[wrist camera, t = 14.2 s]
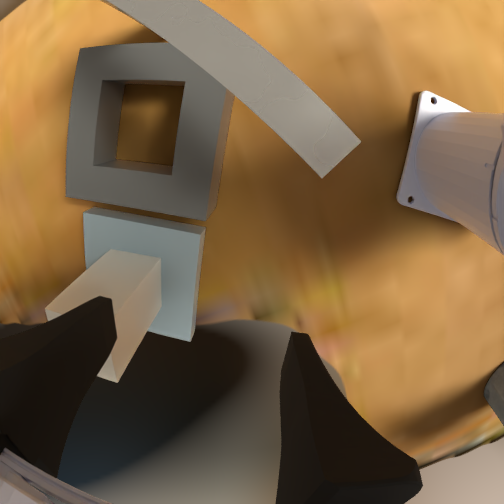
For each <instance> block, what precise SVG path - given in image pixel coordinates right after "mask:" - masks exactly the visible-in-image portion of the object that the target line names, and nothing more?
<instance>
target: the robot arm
mask: <svg viewBox="0 0 504 504" xmlns="http://www.w3.org/2000/svg"><path fill="white" fill-rule="evenodd" d="M431 97H432V98H433V99H434V104H432V103H431ZM410 196H412V201H411V202H408V198H409V197H410ZM396 198H397V201H398V202H399V203H400V204H402V205H404V206H407V207H411V208H414V209H417V210H421V211H424V212H427V213H430V214H434V215H437V216H440V217H443V218H446V219H449V220H452V221H455V222H458V223H460V224H461V225H463V226H464V227H466V228H467V229H469V230H470V231H472V232H473V233H474V234H476V235H477V236H479V237H480V238H481V239H483V240H484V241H485V242H487V243H488V244H490V245H491V246H492V247H494V248H495V249H496V250H498V251H499V252H500V253H501V254H503V255H504V114H500V113H480V112H470V111H469V110H467V109H465V108H463V107H461V106H459V105H457V104H455V103H453V102H451V101H449V100H446V99H444V98H442V97H440V96H438V95H436V94H433V93H431V92H429V91H422V92H421V93H420V94H419V98H418V104H417V110H416V115H415V120H414V125H413V130H412V135H411V139H410V144H409V148H408V153H407V157H406V161H405V165H404V169H403V173H402V177H401V181H400V184H399V188H398V192H397V196H396ZM116 340H117V331H116V325H115V318H114V311H113V304H112V299H111V298H107V297H103V296H98V297H95V298H93V299H91V300H89V301H87V302H85V303H83V304H81V305H79V306H78V307H76V308H74V309H72V310H70V311H68V312H66V313H64V314H62V315H60V316H58V317H56V318H54V319H52V320H50V321H48V322H46V323H44V324H42V325H40V326H37V327H35V328H32V329H30V330H27V331H25V332H22V333H19V334H16V335H13V336H9V337H6V338H2V339H0V504H54V503H53V502H52V501H51V500H49V499H48V497H46V495H44V494H43V493H41V492H40V491H38V490H37V489H35V488H34V487H33V486H35V487H36V488H38V489H40V490H41V491H43V492H45V493H47V494H49V495H50V496H52V497H54V498H56V499H58V500H60V501H61V502H63V503H65V504H111V503H109V502H106V501H104V500H101V499H99V498H96V497H94V496H92V495H90V494H87V493H85V492H83V491H80V490H78V489H76V488H74V487H72V486H70V485H68V484H66V483H64V482H62V481H60V480H58V479H56V478H57V475H58V470H59V465H60V461H61V456H62V452H63V449H64V446H65V443H66V439H67V436H68V433H69V430H70V428H71V425H72V423H73V420H74V417H75V415H76V413H77V411H78V408H79V405H80V403H81V402H82V400H83V398H84V396H85V394H86V392H87V391H88V389H89V388H90V386H91V384H92V383H93V381H94V380H95V378H96V376H97V375H98V373H99V372H100V370H101V368H102V367H103V365H104V364H105V362H106V360H107V359H108V357H109V355H110V353H111V351H112V349H113V347H114V344H115V342H116ZM280 414H281V439H282V441H281V442H282V443H281V445H282V447H281V460H280V470H279V480H278V489H277V497H276V504H404V503H405V502H407V501H408V500H410V499H411V498H412V497H414V496H415V495H416V494H417V493H418V492H419V491H420V490H421V488H422V486H423V484H422V480H421V475H420V471H419V468H418V465H417V462H416V460H415V459H413V458H412V457H410V456H409V455H407V454H406V453H404V452H403V451H401V450H400V449H398V448H397V447H395V446H394V445H392V444H391V443H390V442H389V441H387V440H386V439H385V438H384V437H382V436H381V435H380V434H379V433H378V432H377V431H376V430H375V429H373V428H372V427H371V426H370V425H369V424H368V423H367V422H366V421H365V420H364V419H363V418H362V417H361V416H360V415H359V414H358V412H357V411H356V410H355V409H354V408H353V407H352V405H351V404H350V403H349V402H348V401H347V399H346V398H345V397H344V395H343V394H342V392H340V390H339V388H338V387H337V386H336V384H335V382H334V381H333V379H332V378H331V376H330V374H329V373H328V371H327V369H326V368H325V366H324V364H323V363H322V361H321V359H320V357H319V355H318V353H317V351H316V349H315V347H314V345H313V343H312V341H311V339H310V337H309V335H308V334H305V333H297V332H291V336H290V340H289V343H288V348H287V351H286V355H285V358H284V362H283V366H282V370H281V381H280ZM29 483H30V484H32V485H33V486H31V485H30V484H29Z"/></svg>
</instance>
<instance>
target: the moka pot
mask: <svg viewBox="0 0 504 504" xmlns="http://www.w3.org/2000/svg"><path fill="white" fill-rule="evenodd" d="M484 397H485V399H486V400H487V402H488V403H489V405H490V406H491V408H492V409H493V411H494V412H495V414H496V415H497V416H498V418H499V419H500V421H501V422H502V424H503V426H504V363H503V364H502V365H501V366H500V367H499V368H498V369H497V370H496V371H495V372H494V374H493V375H492V376H491V378H490V379H489V381H488V383H487V385H486V387H485V390H484Z"/></svg>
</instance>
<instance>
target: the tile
mask: <svg viewBox="0 0 504 504" xmlns="http://www.w3.org/2000/svg"><path fill="white" fill-rule="evenodd" d="M83 223H84V247H85V262H86V270H87V269H88V268H89V267H90V266H91V265H93V264H94V263H95V262H96V261H97V260H98V259H100V258H101V257H102V256H103V255H104V254H105V253H107V252H108V251H109V250H110V249H114V250H119V251H125V252H130V253H136V254H141V255H147V256H152V257H158V258H161V301H162V307H161V308H160V310H159V312H158V313H157V315H156V317H155V318H154V320H153V322H152V323H151V325H150V327H149V329H148V330H147V331H150V332H154V333H158V334H161V335H165V336H169V337H173V338H177V339H181V340H185V341H191V339H192V336H193V334H194V331H195V323H196V312H197V302H198V292H199V282H200V273H201V264H202V255H203V247H204V239H205V231H206V227H202V226H197V225H192V224H187V223H181V222H176V221H171V220H165V219H160V218H154V217H149V216H143V215H138V214H132V213H127V212H121V211H116V210H110V209H104V208H99V207H92V208H90V209H89V210H87V211H85V212H83Z"/></svg>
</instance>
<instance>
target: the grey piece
mask: <svg viewBox="0 0 504 504" xmlns="http://www.w3.org/2000/svg"><path fill="white" fill-rule="evenodd" d="M100 1H102V2H104V3H106V4H108V5H110V6H111V7H113V8H115V9H117V10H118V11H120V12H122V13H124V14H125V15H127V16H129V17H130V18H132V19H134V20H135V21H137V22H139V23H140V24H142V25H144V26H145V27H147V28H148V29H150V30H152V31H153V32H155V33H156V34H158V35H159V36H161V37H162V38H163V39H165V40H166V41H168V42H169V43H170V44H172V45H173V46H174V47H176V48H177V49H178V50H180V51H181V52H182V53H184V54H185V55H186V56H187V57H189V58H190V59H191V60H193V61H194V62H195V63H196V64H198V65H199V66H200V67H201V68H203V69H204V70H205V71H206V72H208V73H209V74H210V75H211V76H213V77H214V78H215V79H216V80H217V81H219V82H220V83H221V84H222V85H223V86H225V87H226V88H227V89H228V90H229V91H230V92H232V93H233V94H234V95H235V96H236V97H237V98H238V99H240V100H241V101H242V102H243V103H244V104H245V105H246V106H248V107H249V108H250V109H251V110H252V111H253V112H254V113H255V114H256V115H258V116H259V117H260V118H261V119H262V120H263V121H264V122H265V123H266V124H267V125H268V126H269V127H271V128H272V129H273V130H274V131H275V132H276V133H277V134H278V135H279V136H280V137H281V138H282V139H283V140H284V141H285V142H286V143H287V144H288V145H289V146H290V147H291V148H292V149H293V150H294V151H295V152H296V153H297V154H298V155H299V156H300V157H301V158H302V159H303V160H304V161H305V162H306V163H307V164H308V165H309V166H310V167H311V168H312V169H313V170H314V171H315V172H316V173H317V174H318V175H319V176H320V177H321V178H323V177H324V176H325V175H326V174H327V173H328V172H330V171H331V170H332V169H333V168H334V167H335V166H336V165H337V164H338V163H339V162H340V161H341V160H342V159H343V158H345V157H346V156H347V155H348V154H349V153H350V152H351V151H352V150H353V149H354V148H355V147H356V146H357V145H358V144H360V143H361V141H360V140H359V139H358V138H357V136H356V135H355V134H354V133H353V132H352V131H351V130H350V129H349V128H348V127H347V125H346V124H345V123H344V122H343V121H342V120H341V119H340V118H339V117H338V116H337V115H336V114H335V113H334V112H333V111H332V110H331V109H330V108H329V107H328V106H327V105H326V104H325V103H324V102H323V101H322V100H321V99H320V98H319V97H318V96H317V95H316V94H315V93H314V92H313V91H312V90H311V89H310V88H309V87H308V86H307V85H306V84H305V83H304V82H302V81H301V80H300V79H299V78H298V77H297V76H296V75H295V74H294V73H293V72H291V71H290V70H289V69H288V68H287V67H286V66H285V65H284V64H282V63H281V62H280V61H279V60H278V59H277V58H275V57H274V56H273V55H272V54H271V53H269V52H268V51H267V50H266V49H265V48H263V47H262V46H261V45H260V44H258V43H257V42H256V41H255V40H253V39H252V38H251V37H249V36H248V35H247V34H246V33H244V32H243V31H242V30H240V29H239V28H238V27H236V26H235V25H234V24H232V23H231V22H229V21H228V20H227V19H225V18H224V17H222V16H221V15H220V14H218V13H217V12H215V11H214V10H212V9H211V8H209V7H208V6H206V5H205V4H203V3H202V2H200V1H199V0H100Z"/></svg>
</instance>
